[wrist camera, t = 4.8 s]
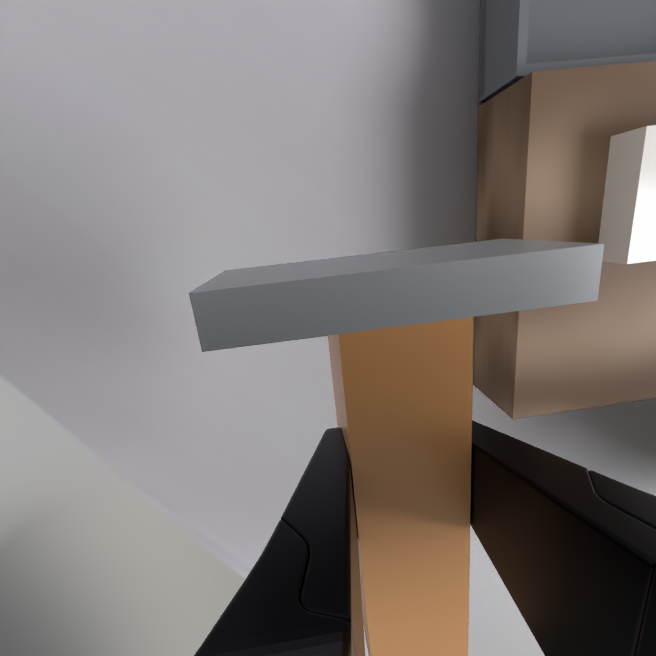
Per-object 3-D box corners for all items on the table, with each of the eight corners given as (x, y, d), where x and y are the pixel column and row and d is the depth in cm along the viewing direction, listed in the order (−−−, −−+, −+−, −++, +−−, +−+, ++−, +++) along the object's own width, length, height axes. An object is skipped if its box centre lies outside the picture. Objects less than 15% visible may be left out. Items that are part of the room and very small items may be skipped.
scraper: (491, 543, 12) (555, 646, 9) (283, 578, 11) (279, 699, 8) (502, 238, 9) (604, 243, 6) (225, 270, 8) (189, 292, 5)
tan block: (655, 358, 22) (732, 386, 18) (473, 384, 21) (512, 419, 17) (705, 86, 18) (819, 47, 14) (478, 106, 17) (532, 71, 13)
